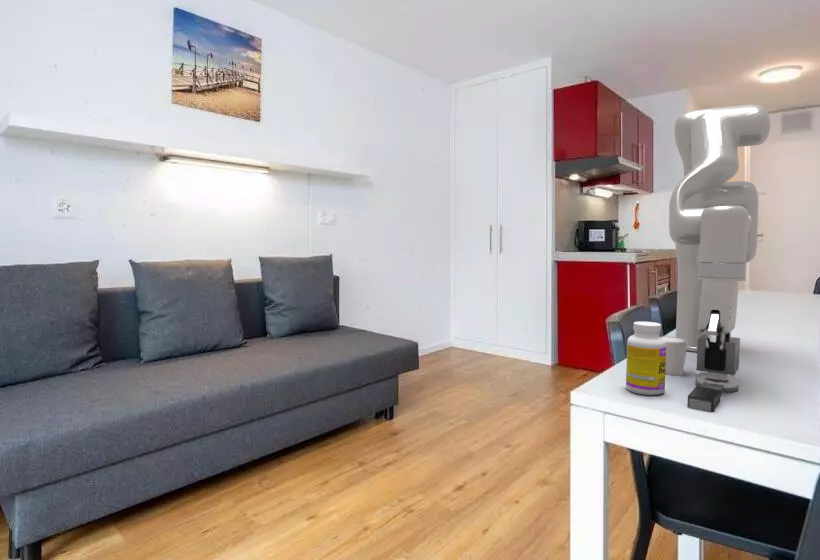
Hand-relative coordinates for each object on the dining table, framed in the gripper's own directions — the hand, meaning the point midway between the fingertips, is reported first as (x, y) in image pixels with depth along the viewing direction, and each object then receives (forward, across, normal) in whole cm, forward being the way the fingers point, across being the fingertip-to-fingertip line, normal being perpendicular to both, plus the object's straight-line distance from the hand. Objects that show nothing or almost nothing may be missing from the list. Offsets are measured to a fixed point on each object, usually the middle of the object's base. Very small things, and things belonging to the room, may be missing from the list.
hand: (717, 365), depth 92 cm
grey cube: (+1, 0, 0) cm, 1 cm away
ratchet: (+4, +6, 0) cm, 7 cm away
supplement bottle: (+5, +10, -10) cm, 15 cm away
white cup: (+4, -7, -10) cm, 13 cm away
